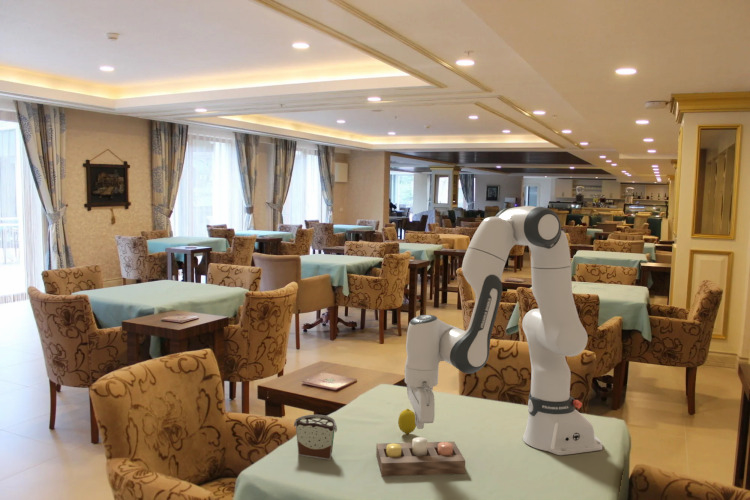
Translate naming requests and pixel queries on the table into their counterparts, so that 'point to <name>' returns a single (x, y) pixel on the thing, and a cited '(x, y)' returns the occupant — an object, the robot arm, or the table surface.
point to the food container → (315, 435)
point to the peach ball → (445, 448)
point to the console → (419, 461)
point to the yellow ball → (393, 450)
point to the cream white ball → (419, 446)
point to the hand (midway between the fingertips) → (419, 426)
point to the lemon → (407, 421)
